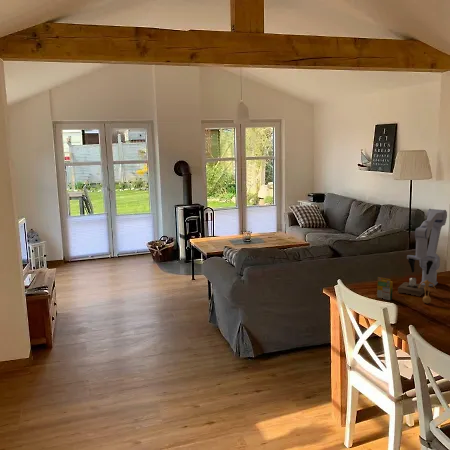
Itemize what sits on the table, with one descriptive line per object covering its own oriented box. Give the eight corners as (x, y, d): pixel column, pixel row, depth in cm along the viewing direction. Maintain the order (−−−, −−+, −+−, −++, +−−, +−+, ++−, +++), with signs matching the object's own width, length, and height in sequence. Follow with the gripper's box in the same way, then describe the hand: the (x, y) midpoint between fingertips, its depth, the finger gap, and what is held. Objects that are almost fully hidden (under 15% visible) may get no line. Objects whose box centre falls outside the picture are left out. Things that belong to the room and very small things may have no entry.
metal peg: (409, 289, 264) (410, 277, 263) (415, 290, 262) (416, 278, 261) (408, 291, 261) (409, 278, 260) (414, 292, 259) (415, 279, 258)
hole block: (404, 287, 270) (404, 281, 269) (426, 290, 263) (426, 285, 262) (397, 292, 260) (397, 287, 260) (420, 296, 253) (420, 291, 253)
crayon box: (392, 299, 251) (393, 278, 248) (389, 300, 248) (390, 279, 246) (379, 296, 255) (379, 275, 253) (376, 297, 253) (377, 276, 251)
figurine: (418, 304, 242) (419, 281, 240) (417, 300, 248) (418, 278, 246) (435, 305, 240) (437, 282, 238) (434, 301, 246) (435, 279, 244)
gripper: (405, 248, 259) (404, 272, 261) (433, 252, 250) (432, 276, 253) (409, 246, 264) (408, 269, 267) (436, 249, 256) (435, 273, 258)
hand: (420, 273), depth 260 cm, fingers open, 7 cm apart
